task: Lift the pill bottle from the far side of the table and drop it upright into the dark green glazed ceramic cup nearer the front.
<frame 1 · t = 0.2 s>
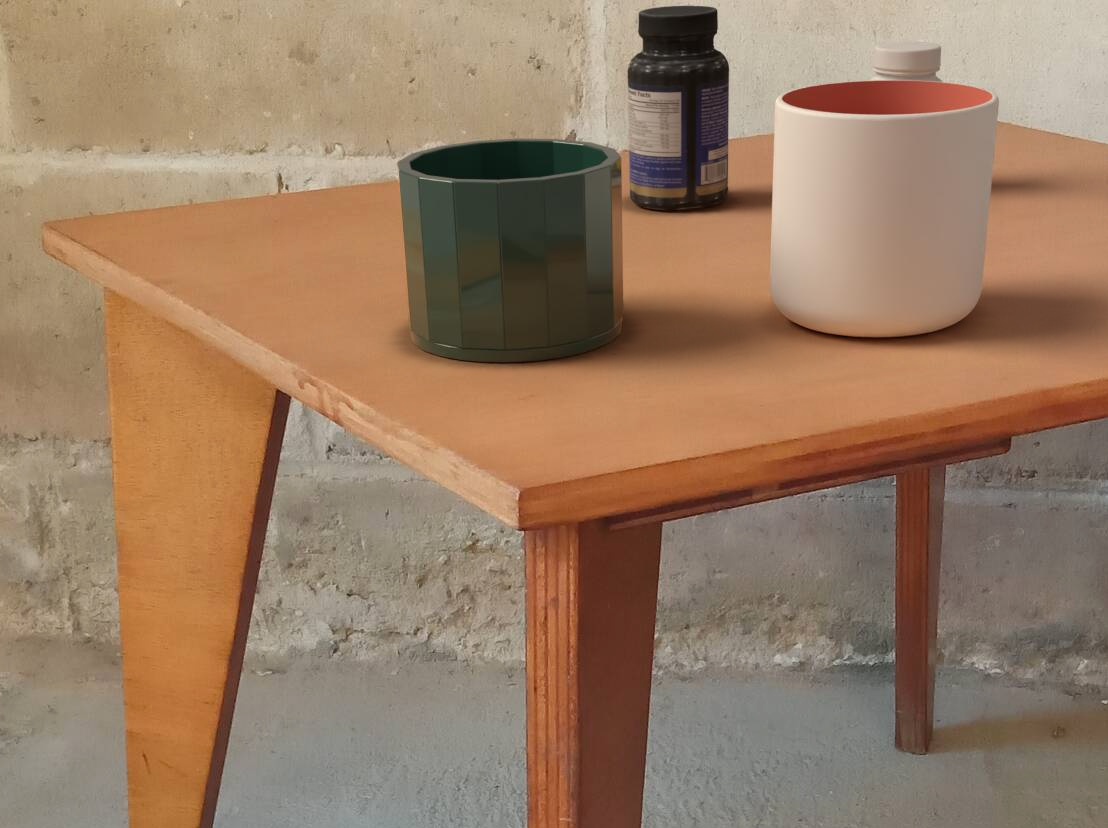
cup: (872, 319, 82), on the table
green cup: (516, 331, 82), on the table
supplement bottle: (897, 192, 107), on the table
pill bottle: (678, 205, 106), on the table
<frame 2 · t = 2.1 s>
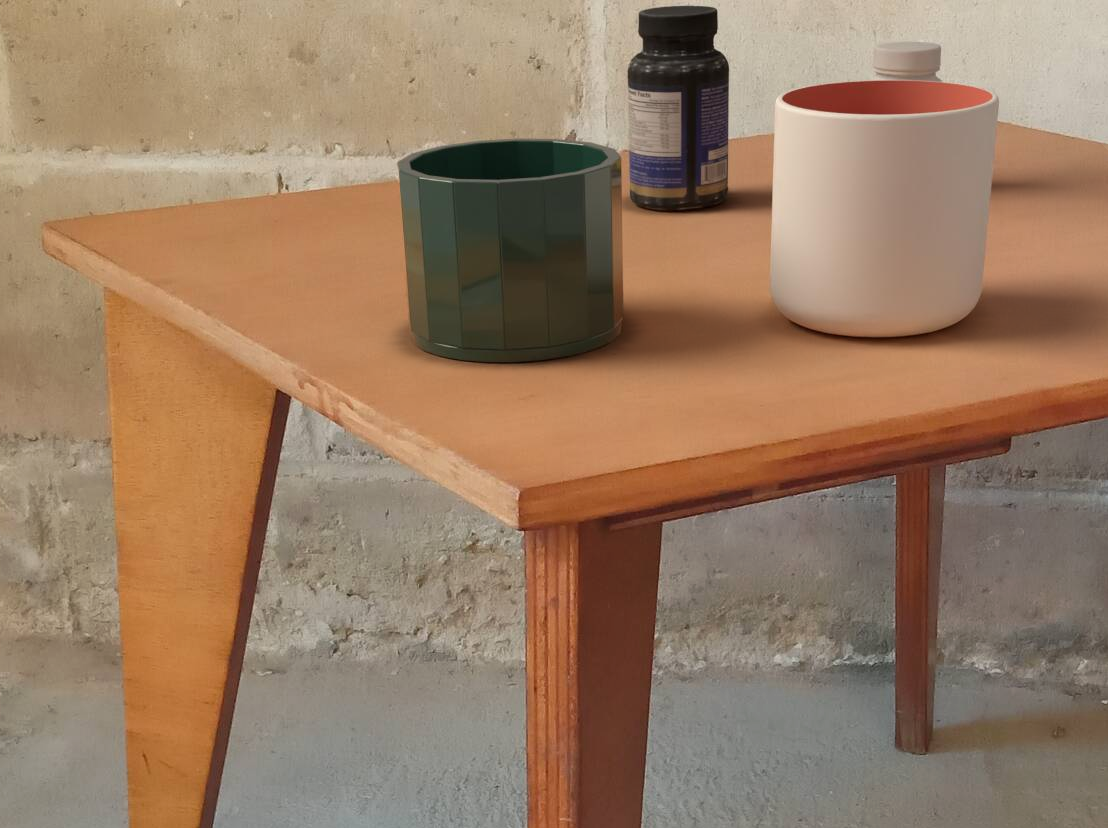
nothing on the table moved.
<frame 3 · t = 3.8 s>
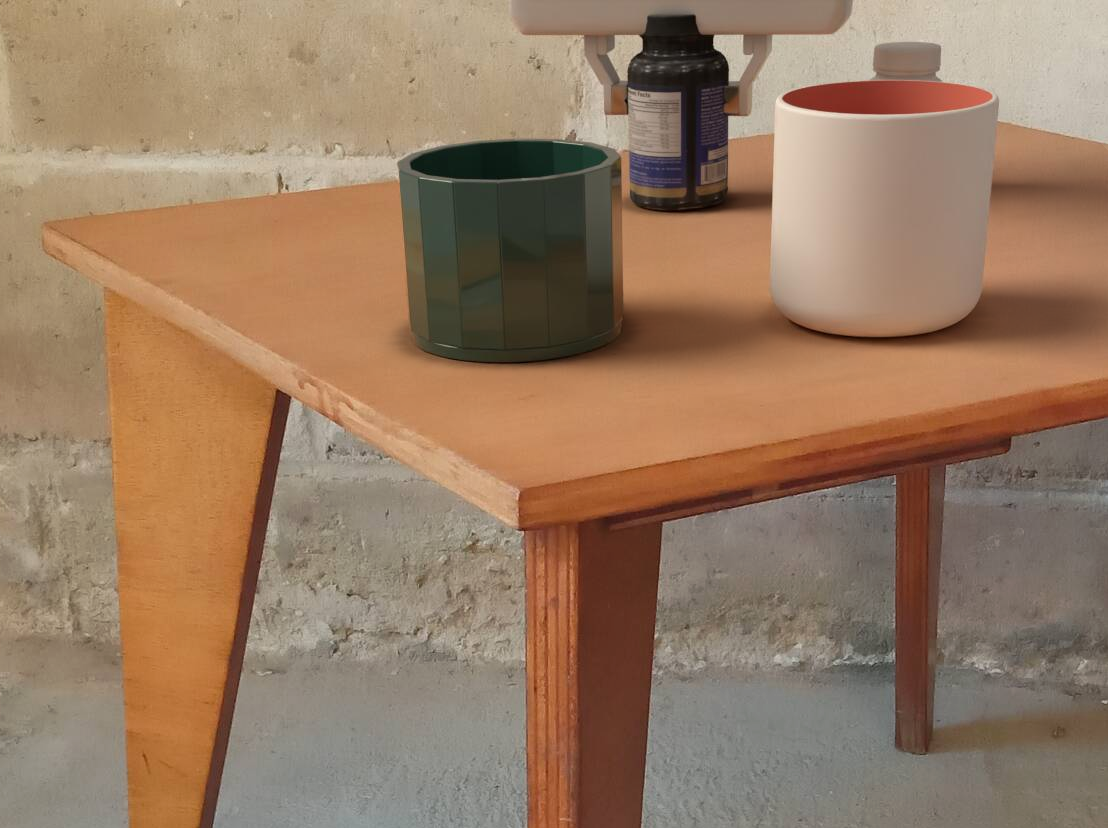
hand: (678, 114, 103), 5 cm above the table, tool pointing down, fingers closed on pill bottle, 6 cm apart
pill bottle: (678, 205, 106), on the table, touching gripper
everything else where it was.
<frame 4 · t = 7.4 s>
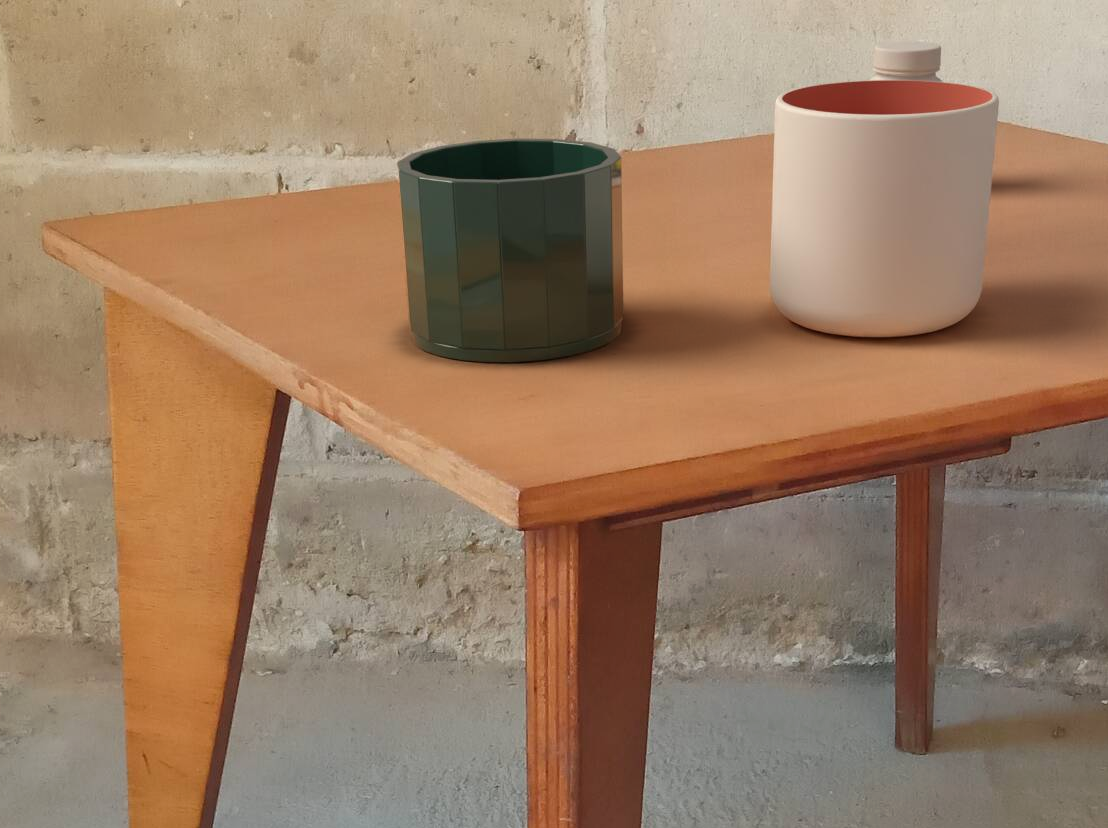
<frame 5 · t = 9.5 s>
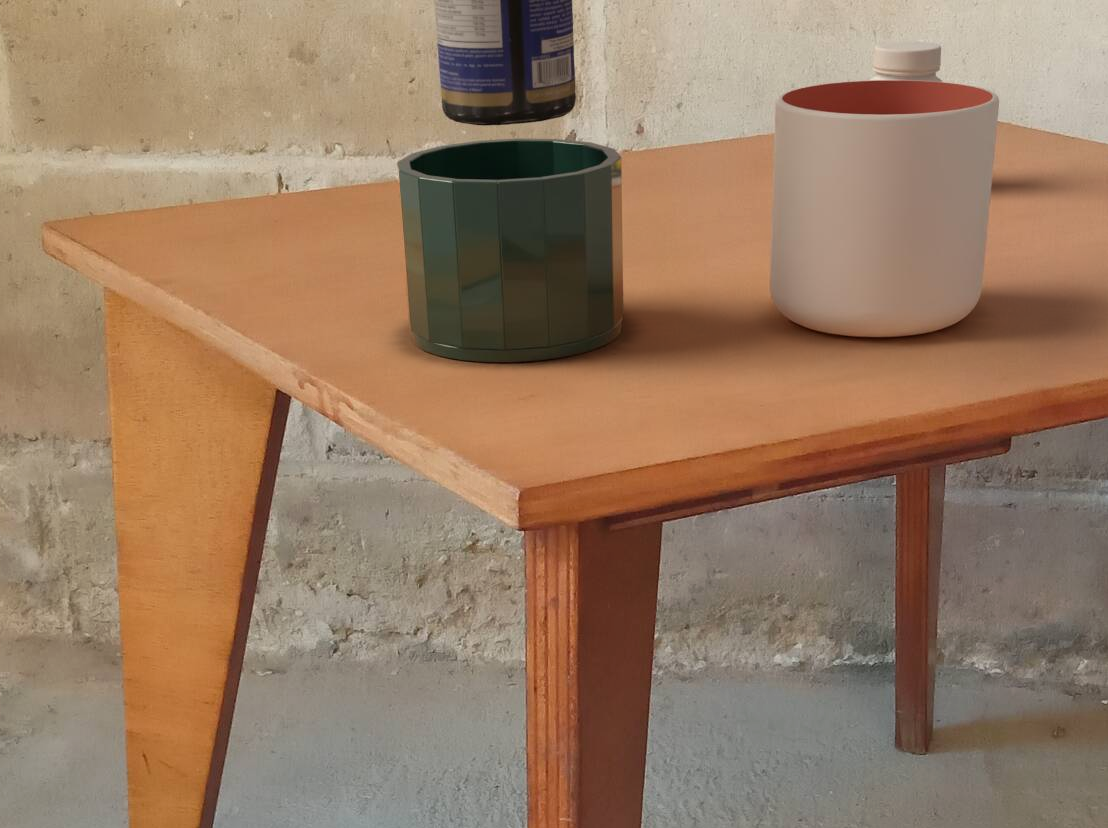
pill bottle: (509, 120, 77), point 10 cm above the table, touching gripper
everything else where it was.
when the fingers open (11 cm above the table, at t = 11.3 s): pill bottle drops 5 cm, resting on green cup.
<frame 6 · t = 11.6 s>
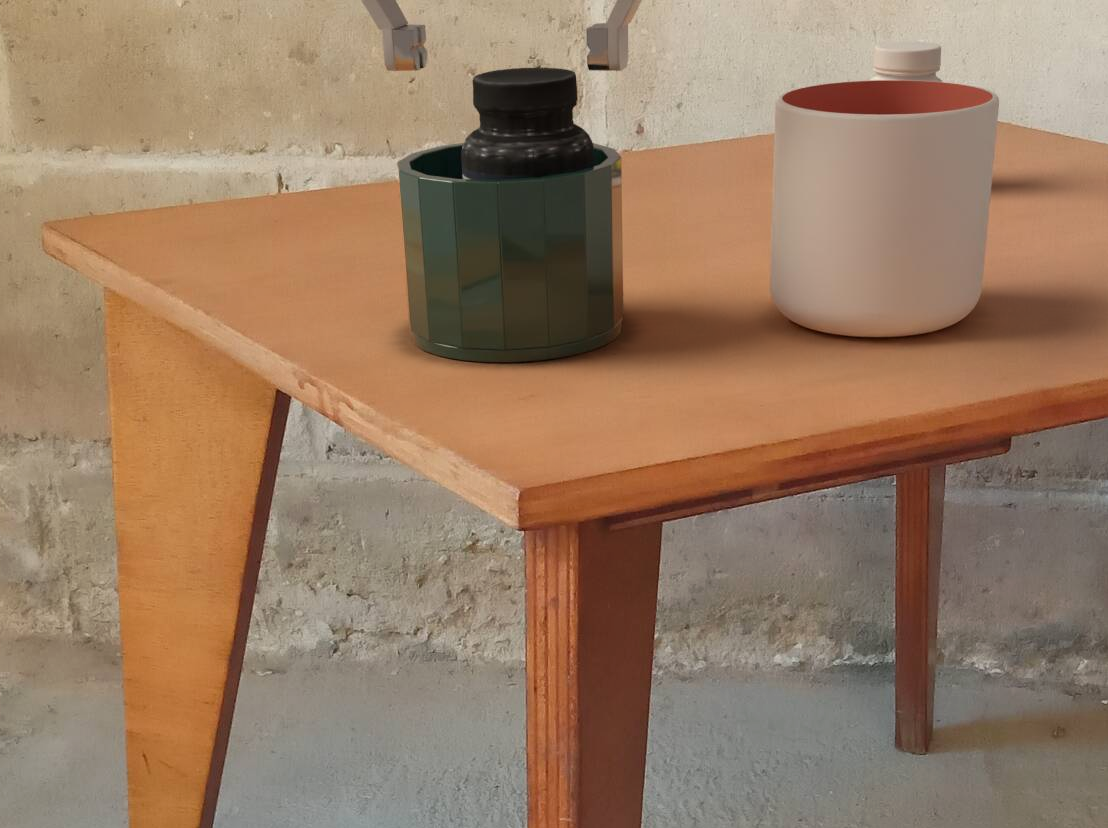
hand: (505, 69, 76), 12 cm above the table, tool pointing down, fingers open, 8 cm apart
pill bottle: (534, 323, 82), resting on green cup
everything else where it was.
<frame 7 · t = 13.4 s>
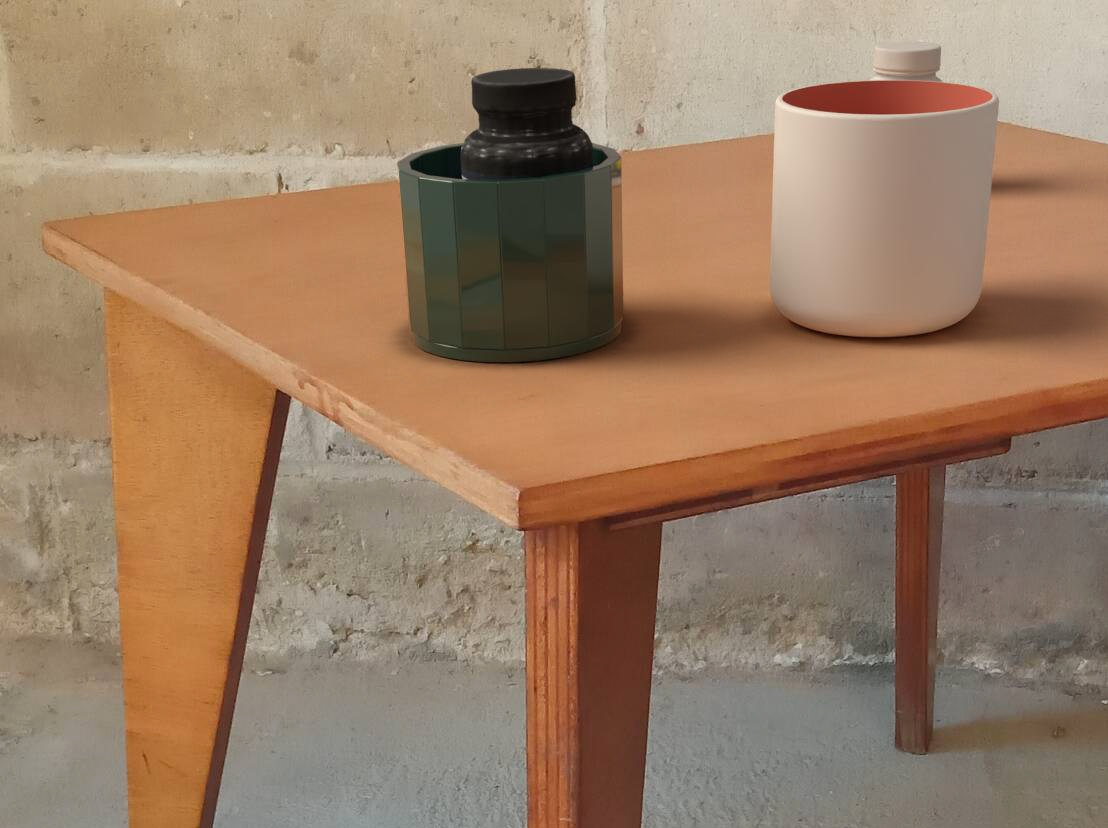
nothing on the table moved.
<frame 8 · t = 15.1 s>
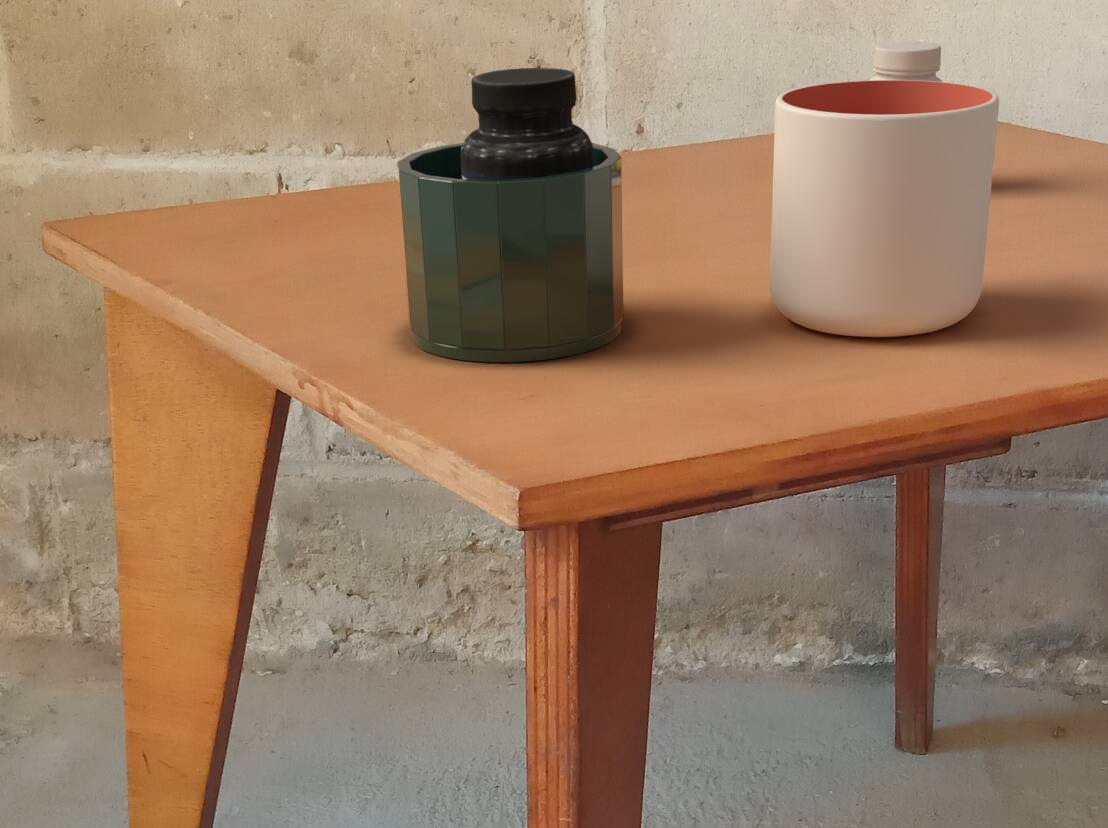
nothing on the table moved.
at the end: pill bottle 0.9 cm off-centre in the green cup, point 0.4 cm above the green cup's base; the gripper is holding nothing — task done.
